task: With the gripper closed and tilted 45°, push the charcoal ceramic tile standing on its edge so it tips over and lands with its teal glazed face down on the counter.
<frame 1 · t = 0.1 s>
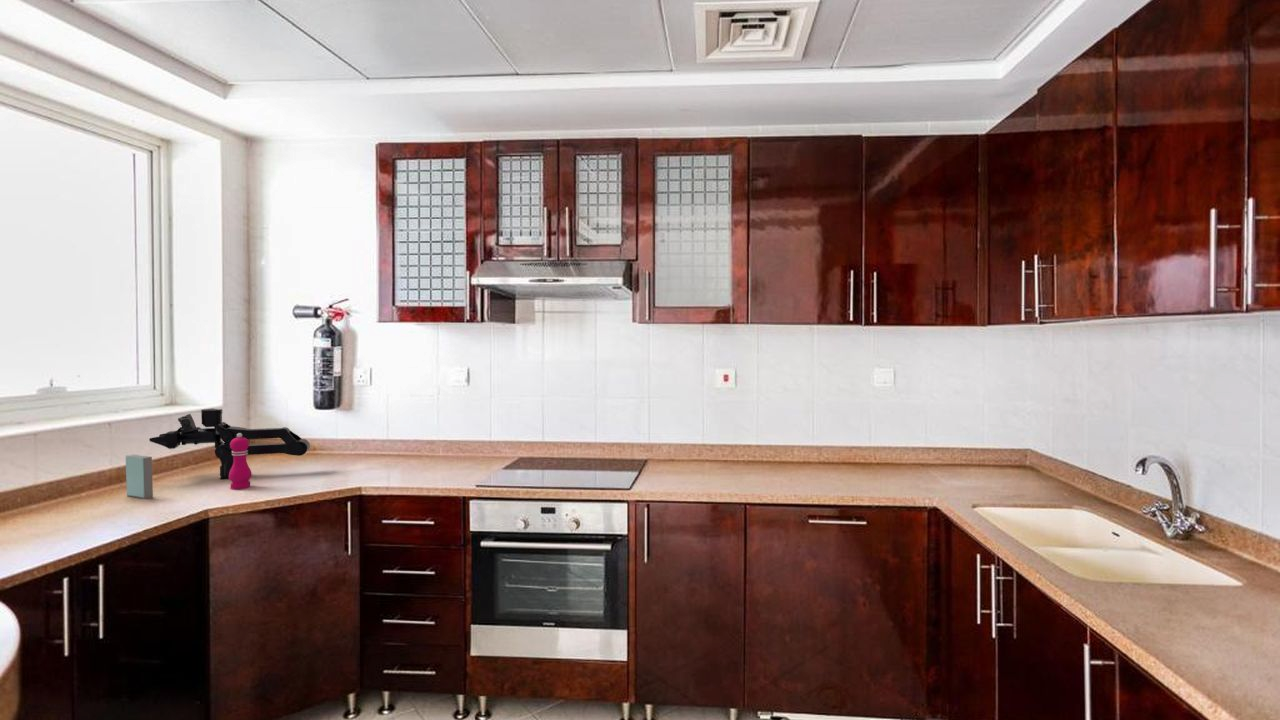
hand: (154, 437, 249), 17 cm above the worktop, tool horizontal, fingers open, 9 cm apart
pepper mill: (240, 488, 241), on the worktop
tile: (140, 496, 227), on the worktop
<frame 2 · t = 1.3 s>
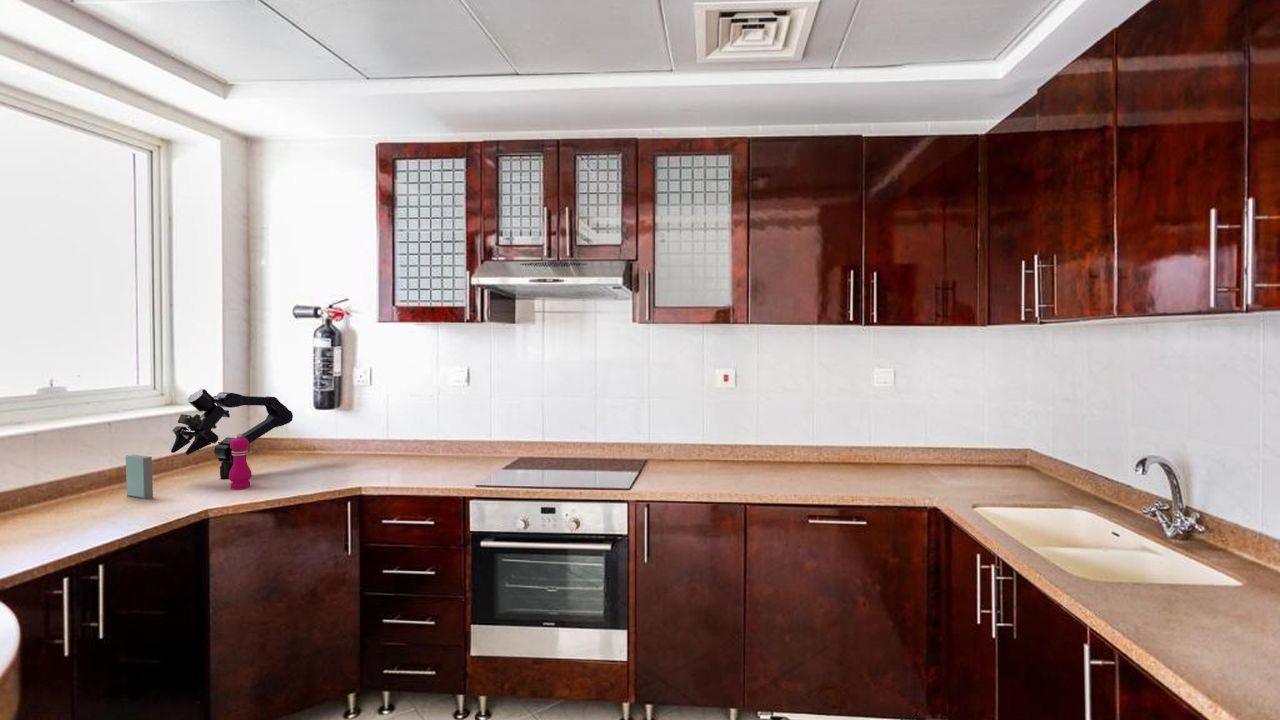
hand: (179, 453, 239), 13 cm above the worktop, tool tilted 45°, fingers open, 8 cm apart
nothing on the worktop moved.
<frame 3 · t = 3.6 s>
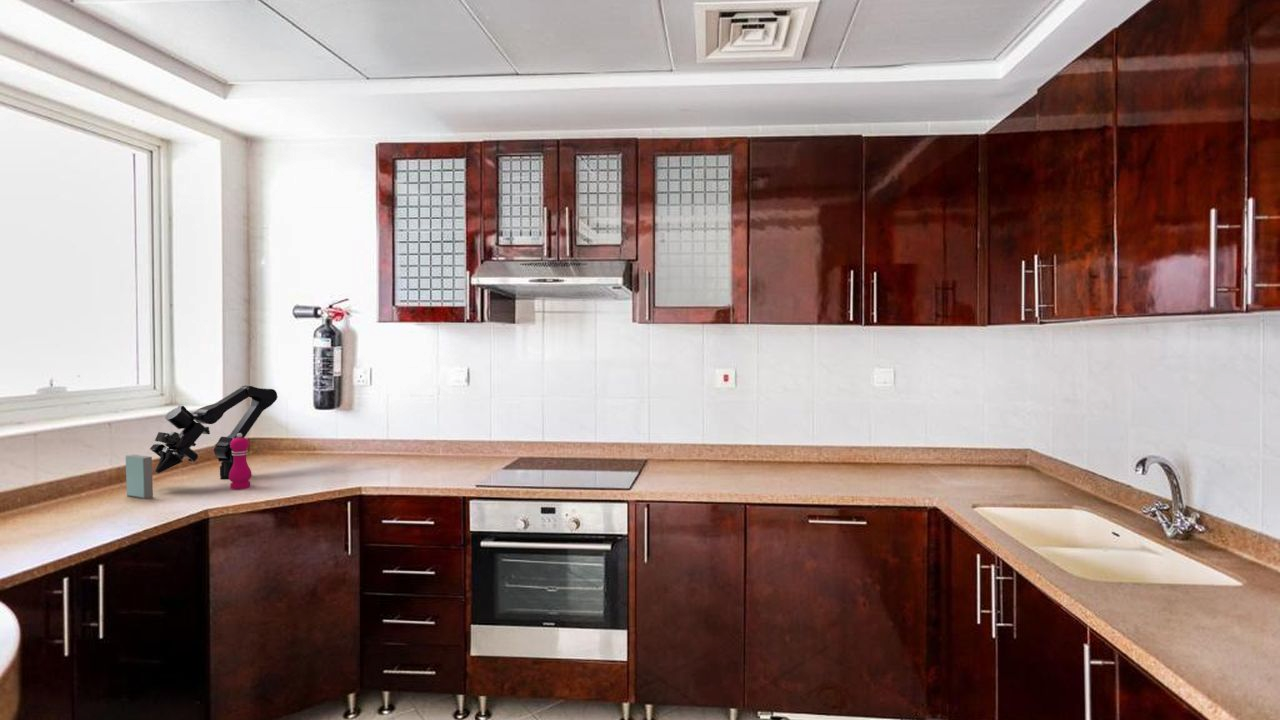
hand: (156, 472, 232), 7 cm above the worktop, tool tilted 45°, fingers closed
nothing on the worktop moved.
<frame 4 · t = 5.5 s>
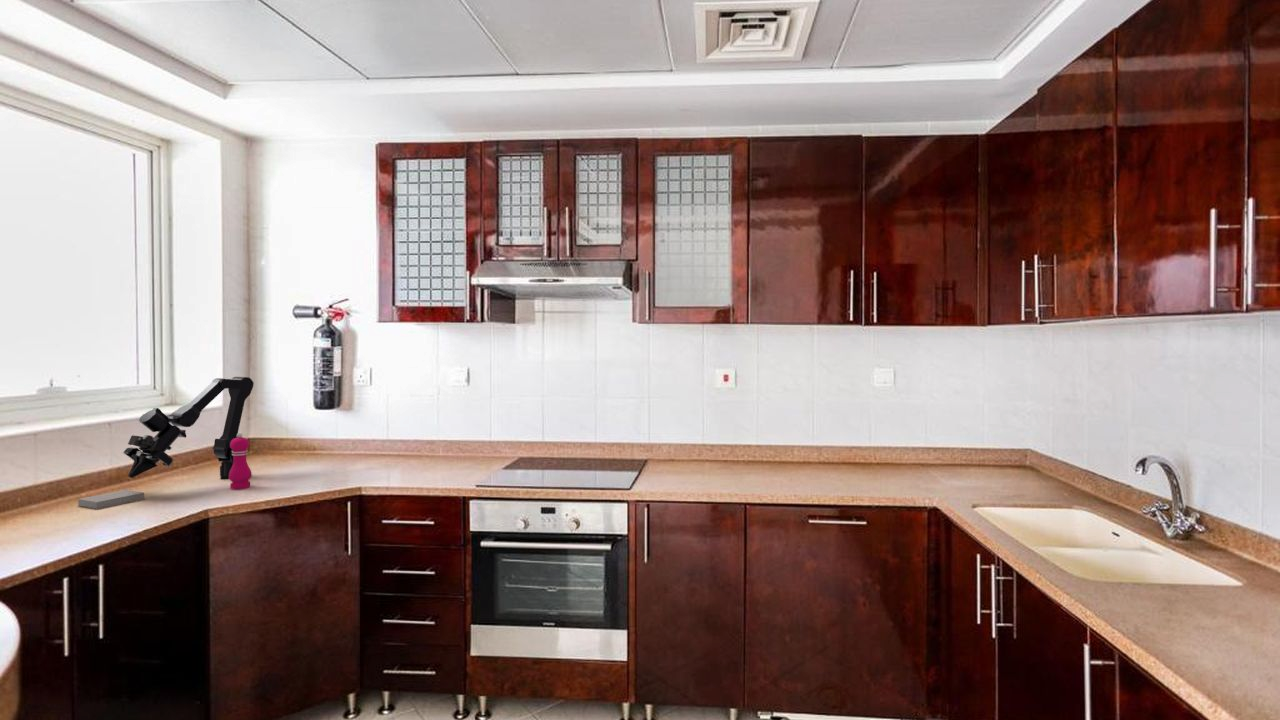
hand: (129, 477, 224), 7 cm above the worktop, tool tilted 45°, fingers closed
tile: (134, 494, 225), point 1 cm above the worktop, tilted 90°
everything else where it was.
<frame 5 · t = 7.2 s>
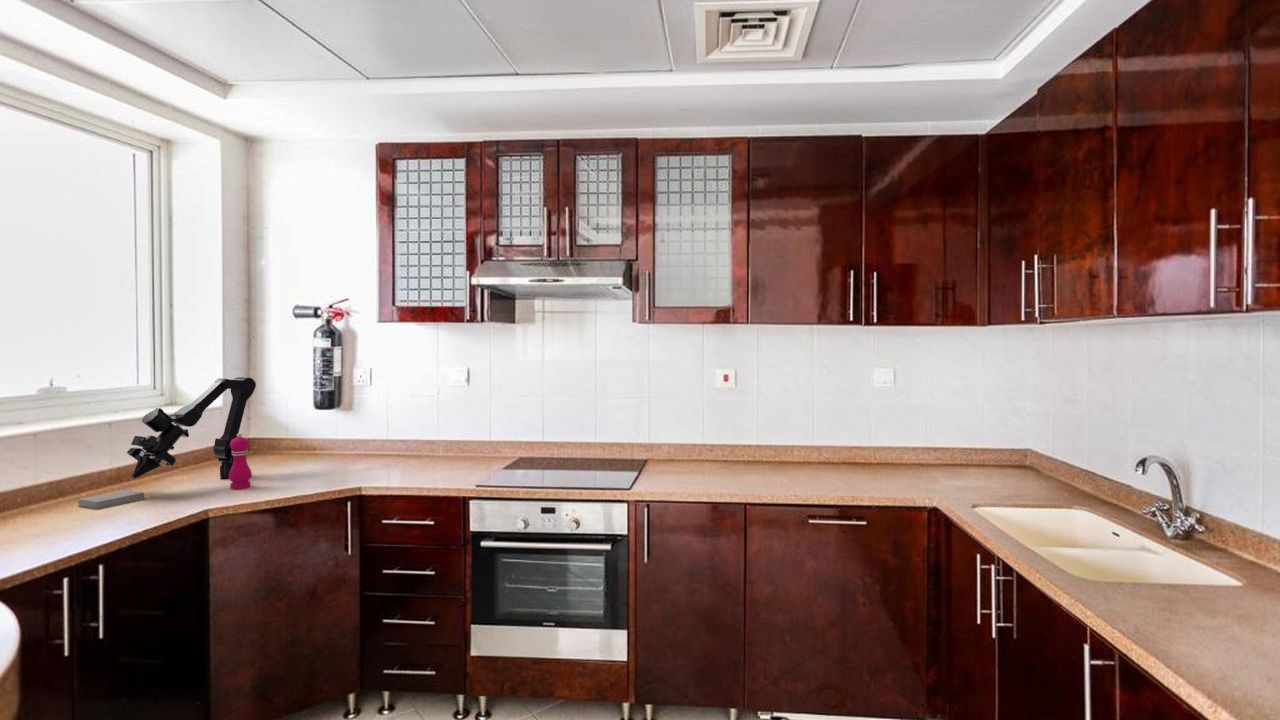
hand: (133, 477, 225), 7 cm above the worktop, tool tilted 45°, fingers closed
nothing on the worktop moved.
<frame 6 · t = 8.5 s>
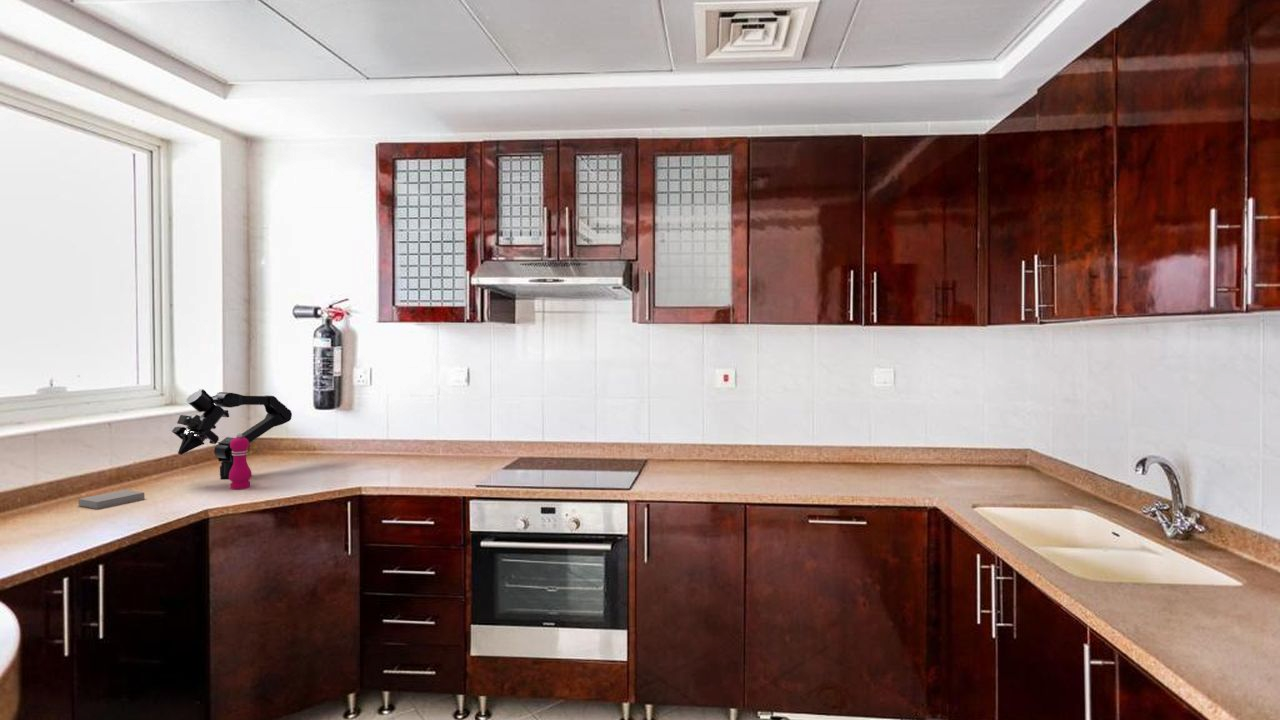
hand: (179, 454, 239), 12 cm above the worktop, tool tilted 45°, fingers closed
nothing on the worktop moved.
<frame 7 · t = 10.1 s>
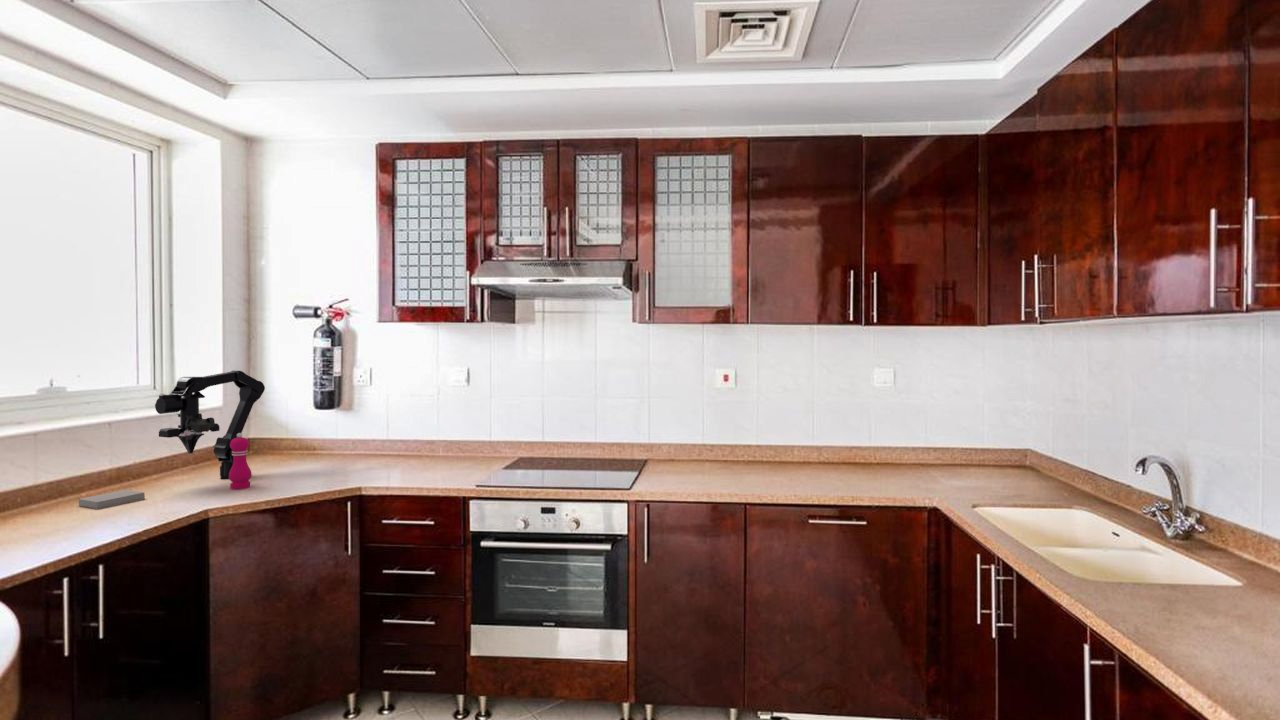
hand: (190, 453, 242), 12 cm above the worktop, tool pointing down, fingers closed
nothing on the worktop moved.
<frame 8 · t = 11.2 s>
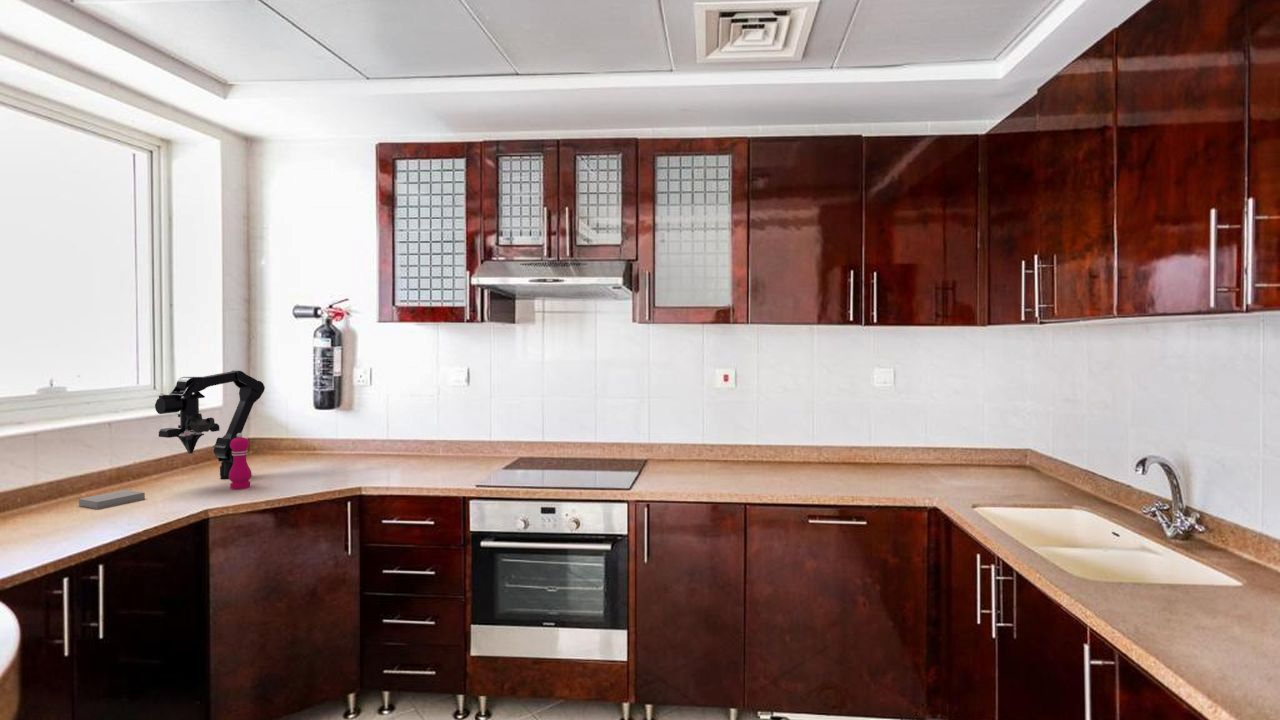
hand: (190, 453, 242), 12 cm above the worktop, tool pointing down, fingers closed
nothing on the worktop moved.
at the end: tile tilted 90°; tile moved 1.7 cm from its start; the gripper is holding nothing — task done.
